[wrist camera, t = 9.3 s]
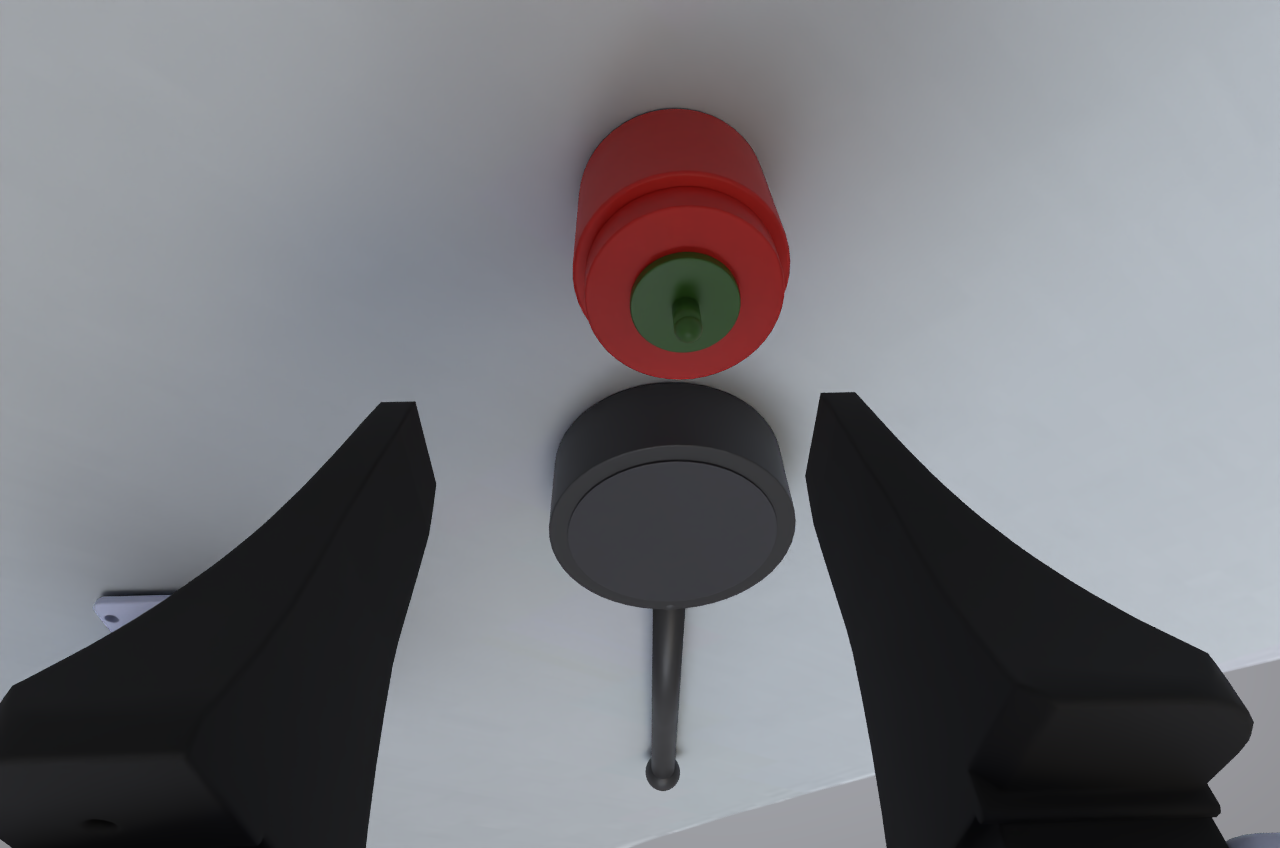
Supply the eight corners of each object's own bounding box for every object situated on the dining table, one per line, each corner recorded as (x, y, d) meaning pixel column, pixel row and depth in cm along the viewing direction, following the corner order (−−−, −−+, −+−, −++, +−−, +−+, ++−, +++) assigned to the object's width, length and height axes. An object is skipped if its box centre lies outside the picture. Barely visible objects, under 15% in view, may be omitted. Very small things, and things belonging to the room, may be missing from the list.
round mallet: (735, 760, 41) (742, 819, 39) (587, 764, 41) (586, 823, 39) (793, 379, 25) (812, 443, 22) (544, 384, 24) (537, 449, 22)
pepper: (756, 282, 22) (795, 426, 17) (584, 286, 22) (575, 430, 17) (774, 105, 19) (828, 221, 14) (573, 108, 19) (557, 225, 14)
